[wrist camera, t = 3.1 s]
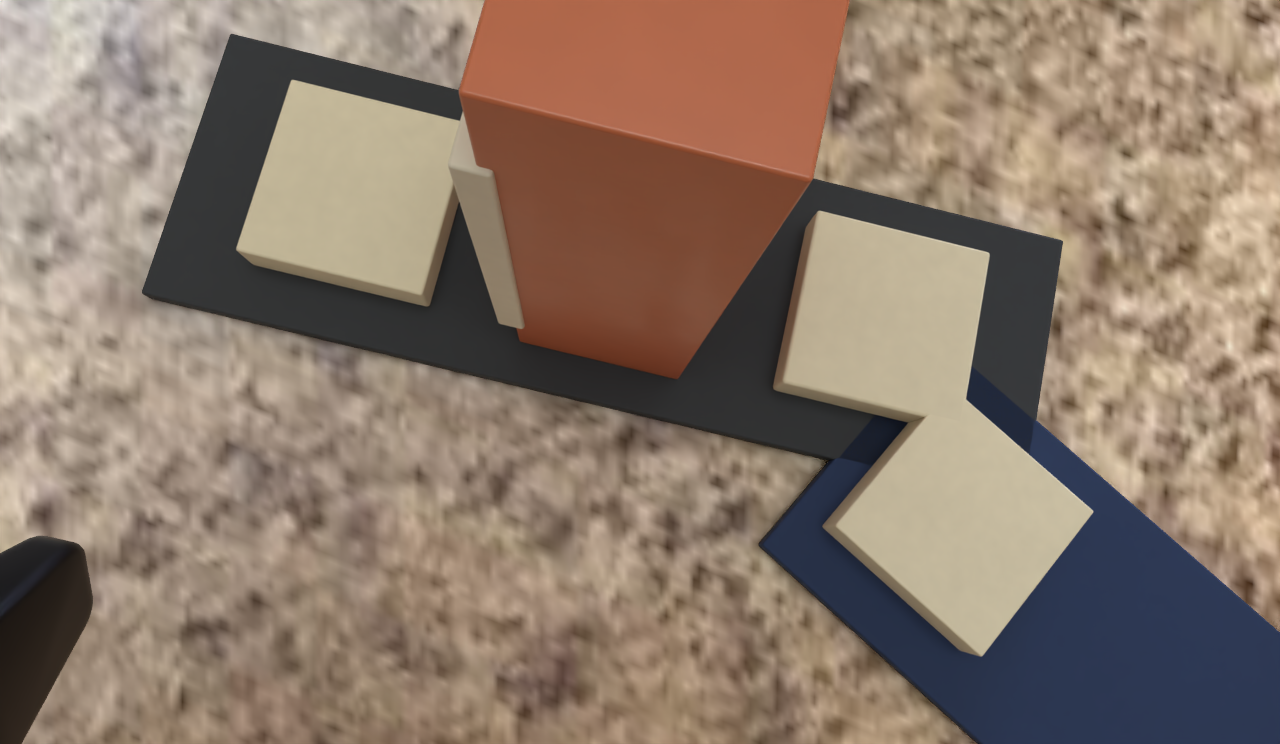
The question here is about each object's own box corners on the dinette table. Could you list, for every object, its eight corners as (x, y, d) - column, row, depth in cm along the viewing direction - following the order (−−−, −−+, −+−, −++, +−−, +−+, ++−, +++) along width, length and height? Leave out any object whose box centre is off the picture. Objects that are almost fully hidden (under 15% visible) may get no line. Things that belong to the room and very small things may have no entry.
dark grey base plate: (1054, 246, 25) (1089, 225, 23) (1014, 505, 24) (1048, 503, 22) (236, 42, 24) (212, 6, 23) (149, 298, 23) (116, 279, 21)
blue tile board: (1556, 883, 23) (1633, 910, 21) (1407, 1132, 22) (1477, 1181, 20) (931, 338, 24) (958, 324, 23) (757, 544, 23) (771, 545, 21)
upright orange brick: (677, 384, 23) (811, 191, 10) (503, 342, 23) (422, 94, 10) (721, 188, 24) (893, -209, 11) (555, 147, 24) (539, -302, 11)
